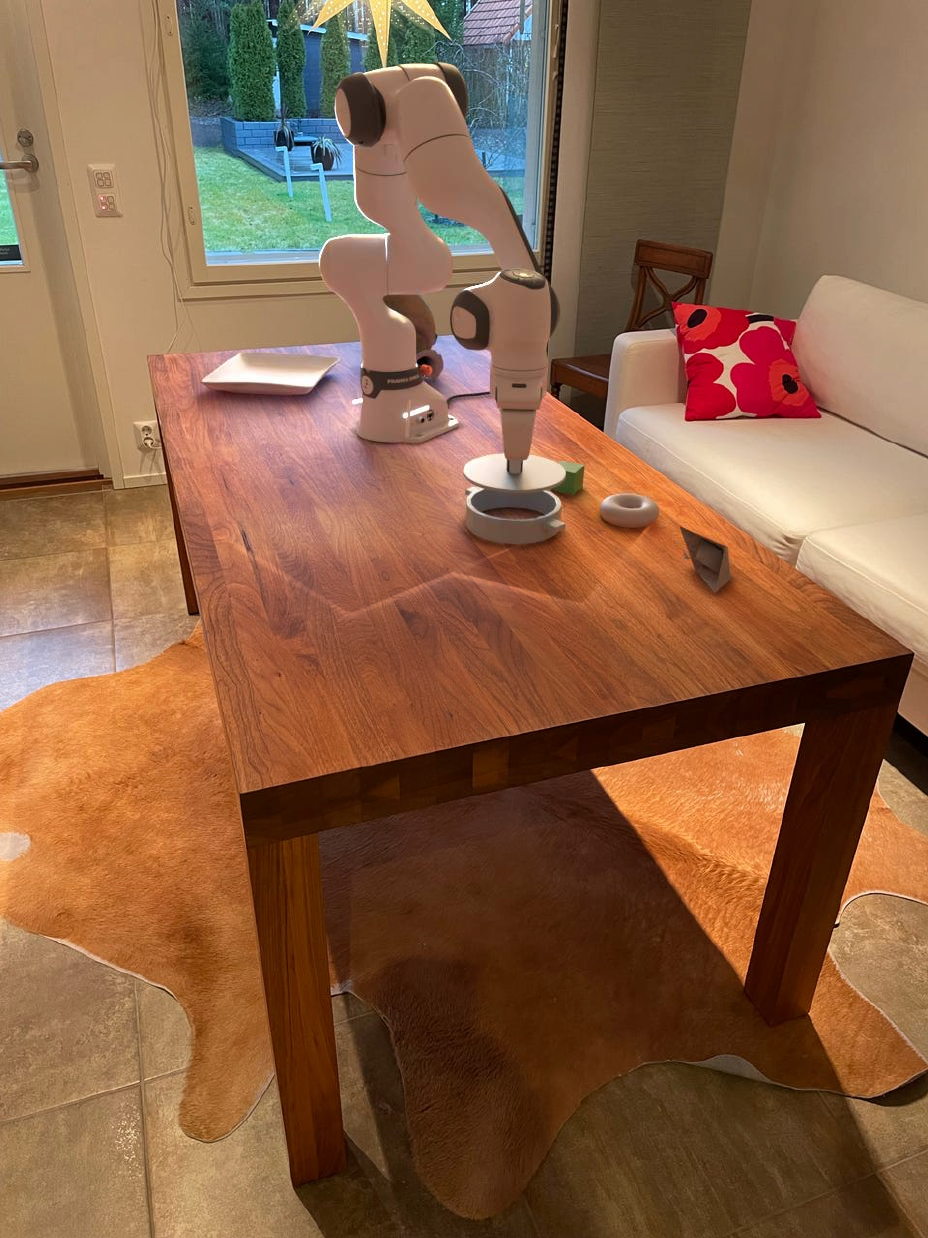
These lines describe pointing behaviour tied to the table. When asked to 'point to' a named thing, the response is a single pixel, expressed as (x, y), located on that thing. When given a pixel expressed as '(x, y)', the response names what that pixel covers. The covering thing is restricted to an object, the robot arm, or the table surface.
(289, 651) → the table surface
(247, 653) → the table surface
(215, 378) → the square plate
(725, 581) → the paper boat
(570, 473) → the block
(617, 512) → the donut
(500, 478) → the pan lid
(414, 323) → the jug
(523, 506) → the pan
